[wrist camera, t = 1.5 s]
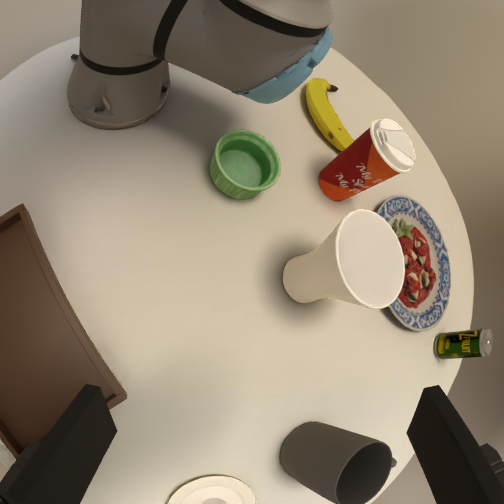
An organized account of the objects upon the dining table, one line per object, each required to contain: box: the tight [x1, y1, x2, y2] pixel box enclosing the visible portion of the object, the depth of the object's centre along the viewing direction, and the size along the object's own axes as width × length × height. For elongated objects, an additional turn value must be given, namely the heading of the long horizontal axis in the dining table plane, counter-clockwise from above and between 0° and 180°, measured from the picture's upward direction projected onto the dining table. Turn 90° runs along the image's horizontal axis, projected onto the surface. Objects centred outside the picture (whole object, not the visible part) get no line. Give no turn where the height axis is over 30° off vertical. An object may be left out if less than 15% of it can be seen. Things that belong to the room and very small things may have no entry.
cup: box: [283, 209, 405, 309], centre depth 35 cm, size 10×10×14 cm
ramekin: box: [210, 129, 281, 199], centre depth 39 cm, size 9×9×4 cm
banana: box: [306, 78, 354, 152], centre depth 52 cm, size 5×17×15 cm
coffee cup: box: [319, 119, 416, 201], centre depth 42 cm, size 8×8×15 cm
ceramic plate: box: [377, 195, 451, 331], centre depth 51 cm, size 26×26×3 cm
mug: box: [280, 422, 397, 504], centre depth 31 cm, size 14×9×12 cm
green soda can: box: [434, 328, 493, 359], centre depth 46 cm, size 5×5×12 cm
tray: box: [0, 203, 127, 460], centre depth 23 cm, size 24×17×3 cm
